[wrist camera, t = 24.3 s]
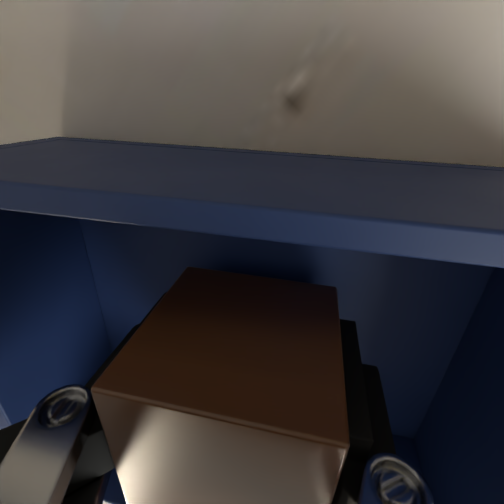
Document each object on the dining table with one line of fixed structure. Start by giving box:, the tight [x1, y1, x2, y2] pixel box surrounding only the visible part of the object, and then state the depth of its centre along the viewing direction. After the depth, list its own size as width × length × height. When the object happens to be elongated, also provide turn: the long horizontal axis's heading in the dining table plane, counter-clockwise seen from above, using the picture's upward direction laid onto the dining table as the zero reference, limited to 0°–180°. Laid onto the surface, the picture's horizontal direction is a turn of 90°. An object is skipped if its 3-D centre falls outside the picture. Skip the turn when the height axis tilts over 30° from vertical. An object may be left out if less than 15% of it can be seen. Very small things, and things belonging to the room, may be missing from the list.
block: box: [91, 267, 350, 504], centre depth 9 cm, size 5×5×5 cm
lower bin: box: [0, 137, 504, 504], centre depth 10 cm, size 16×12×6 cm
